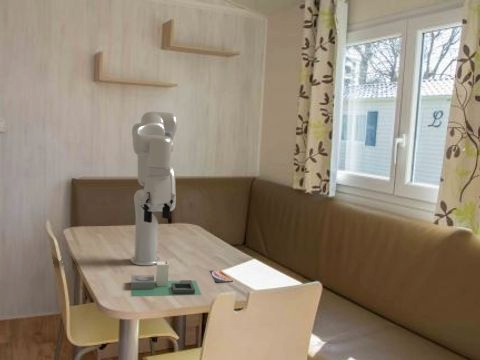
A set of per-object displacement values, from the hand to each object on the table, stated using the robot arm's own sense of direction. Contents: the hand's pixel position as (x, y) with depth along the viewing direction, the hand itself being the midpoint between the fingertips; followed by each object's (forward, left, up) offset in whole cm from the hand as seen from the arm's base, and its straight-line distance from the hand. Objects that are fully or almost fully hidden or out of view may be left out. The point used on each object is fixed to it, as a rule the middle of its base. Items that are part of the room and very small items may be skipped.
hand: (157, 220), depth 178 cm
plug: (-3, +3, -24) cm, 25 cm away
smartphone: (-15, +26, -26) cm, 40 cm away
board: (+1, +4, -26) cm, 26 cm away
